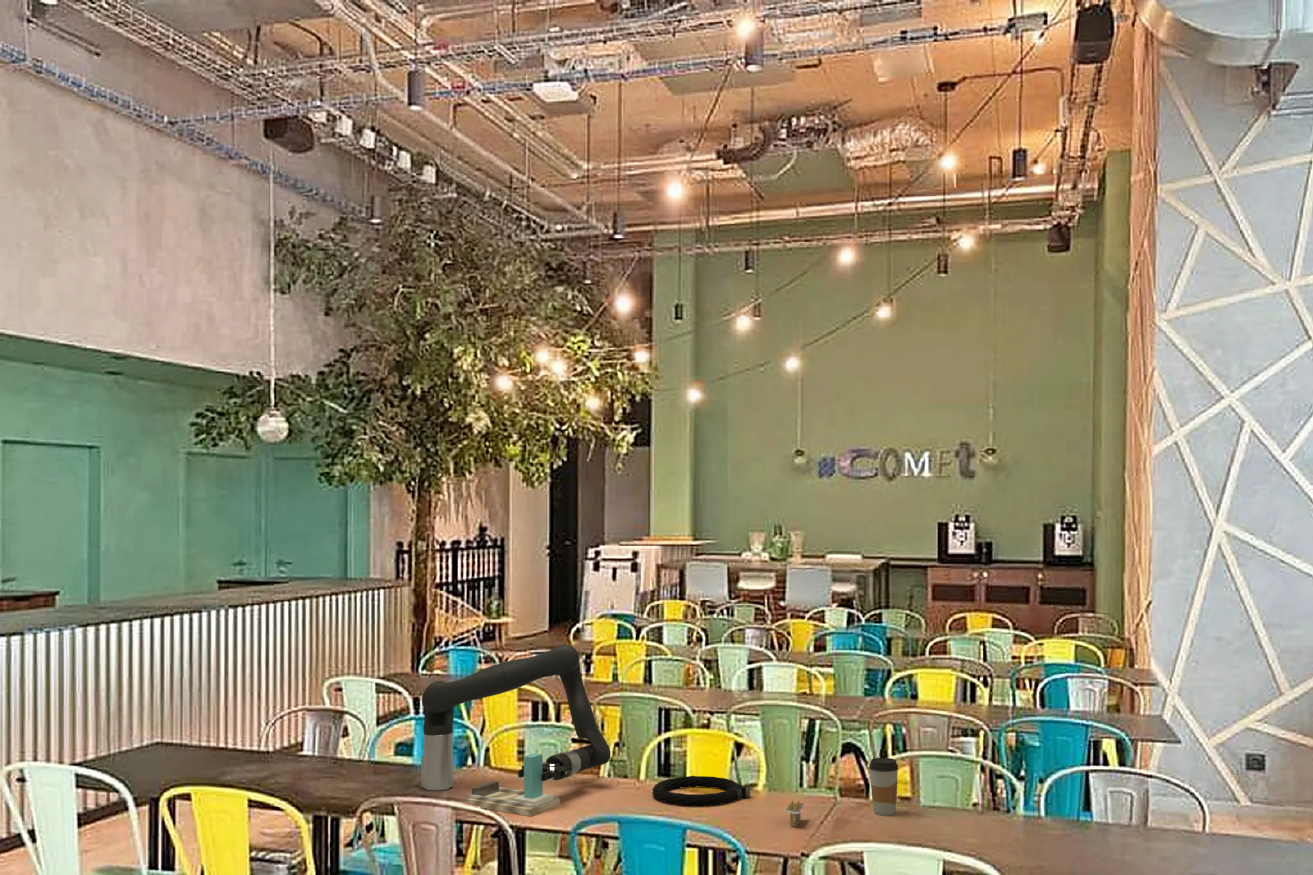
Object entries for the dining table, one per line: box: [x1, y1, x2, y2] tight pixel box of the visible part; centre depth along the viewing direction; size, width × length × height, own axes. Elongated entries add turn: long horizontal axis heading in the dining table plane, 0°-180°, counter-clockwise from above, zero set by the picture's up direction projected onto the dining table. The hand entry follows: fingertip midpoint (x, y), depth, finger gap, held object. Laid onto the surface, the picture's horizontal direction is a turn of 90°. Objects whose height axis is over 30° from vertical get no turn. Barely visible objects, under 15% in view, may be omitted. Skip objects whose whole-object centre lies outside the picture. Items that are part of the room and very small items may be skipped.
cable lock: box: [651, 775, 751, 807], centre depth 377 cm, size 28×4×30 cm
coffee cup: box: [868, 757, 899, 817], centre depth 355 cm, size 8×8×15 cm
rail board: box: [464, 780, 561, 817], centre depth 368 cm, size 25×14×5 cm, turn 58°
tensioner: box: [513, 753, 555, 806], centre depth 364 cm, size 8×9×14 cm
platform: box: [785, 799, 805, 828], centre depth 345 cm, size 12×18×7 cm, turn 165°
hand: (530, 775), depth 363 cm, fingers open, 8 cm apart
